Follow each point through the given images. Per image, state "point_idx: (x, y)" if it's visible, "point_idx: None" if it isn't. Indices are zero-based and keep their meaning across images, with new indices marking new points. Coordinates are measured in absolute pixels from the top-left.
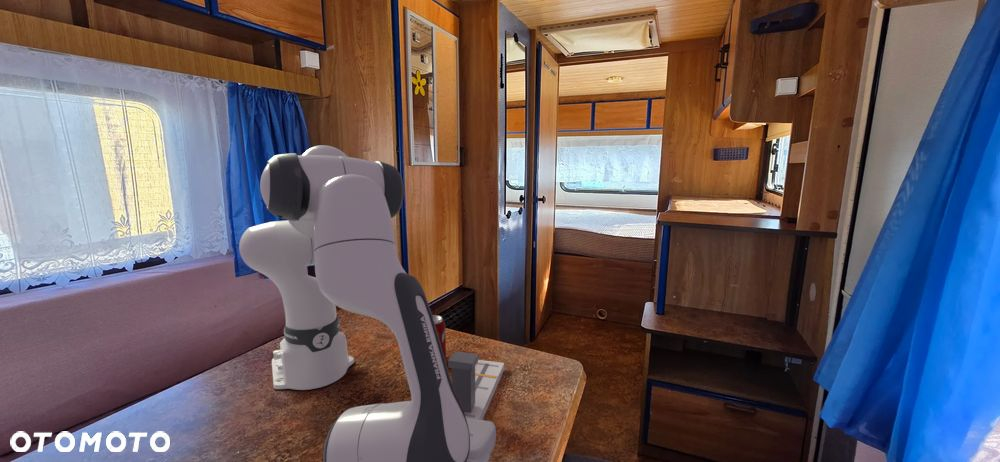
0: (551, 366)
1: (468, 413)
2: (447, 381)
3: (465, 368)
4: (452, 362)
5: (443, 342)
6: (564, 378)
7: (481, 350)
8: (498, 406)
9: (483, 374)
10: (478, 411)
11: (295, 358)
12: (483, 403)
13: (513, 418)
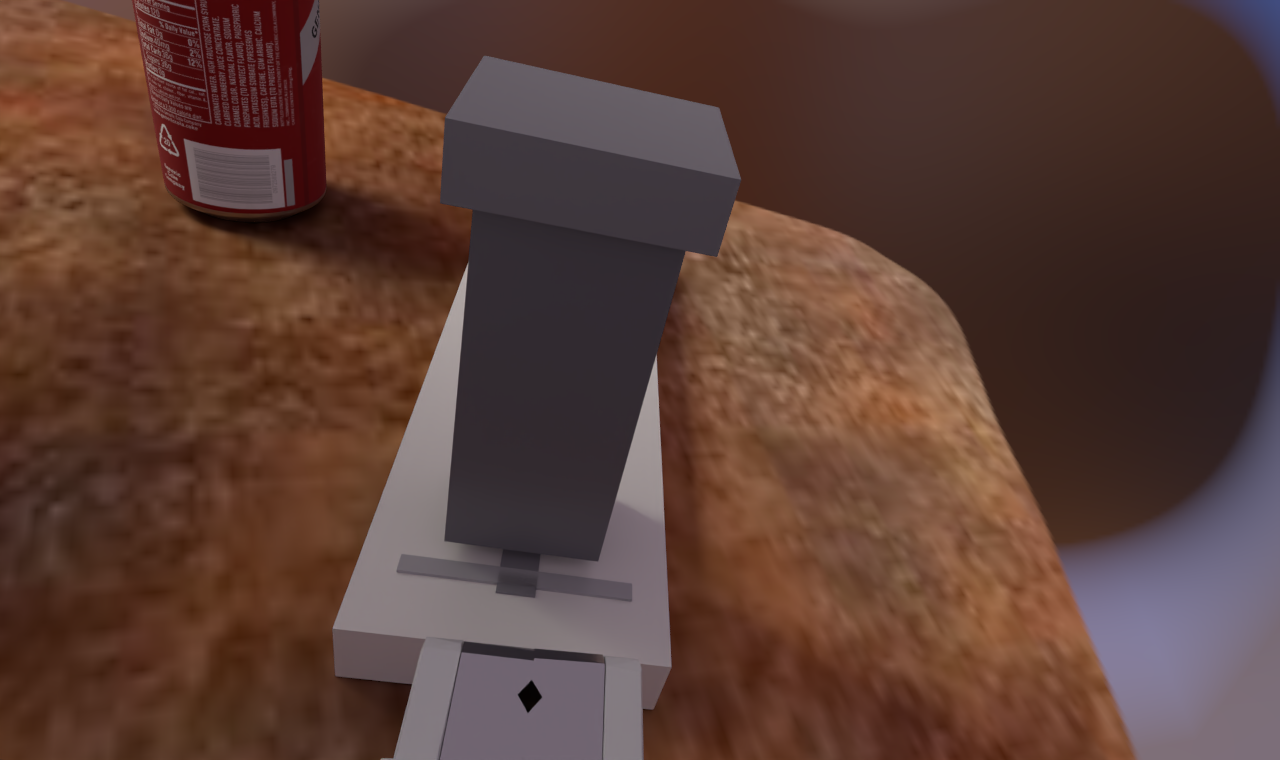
0: (830, 263)
1: (573, 565)
2: None
3: (645, 226)
4: (496, 146)
5: (310, 85)
6: (914, 318)
7: None
8: (703, 472)
9: None
10: (639, 542)
11: None
12: (645, 473)
13: (824, 554)
